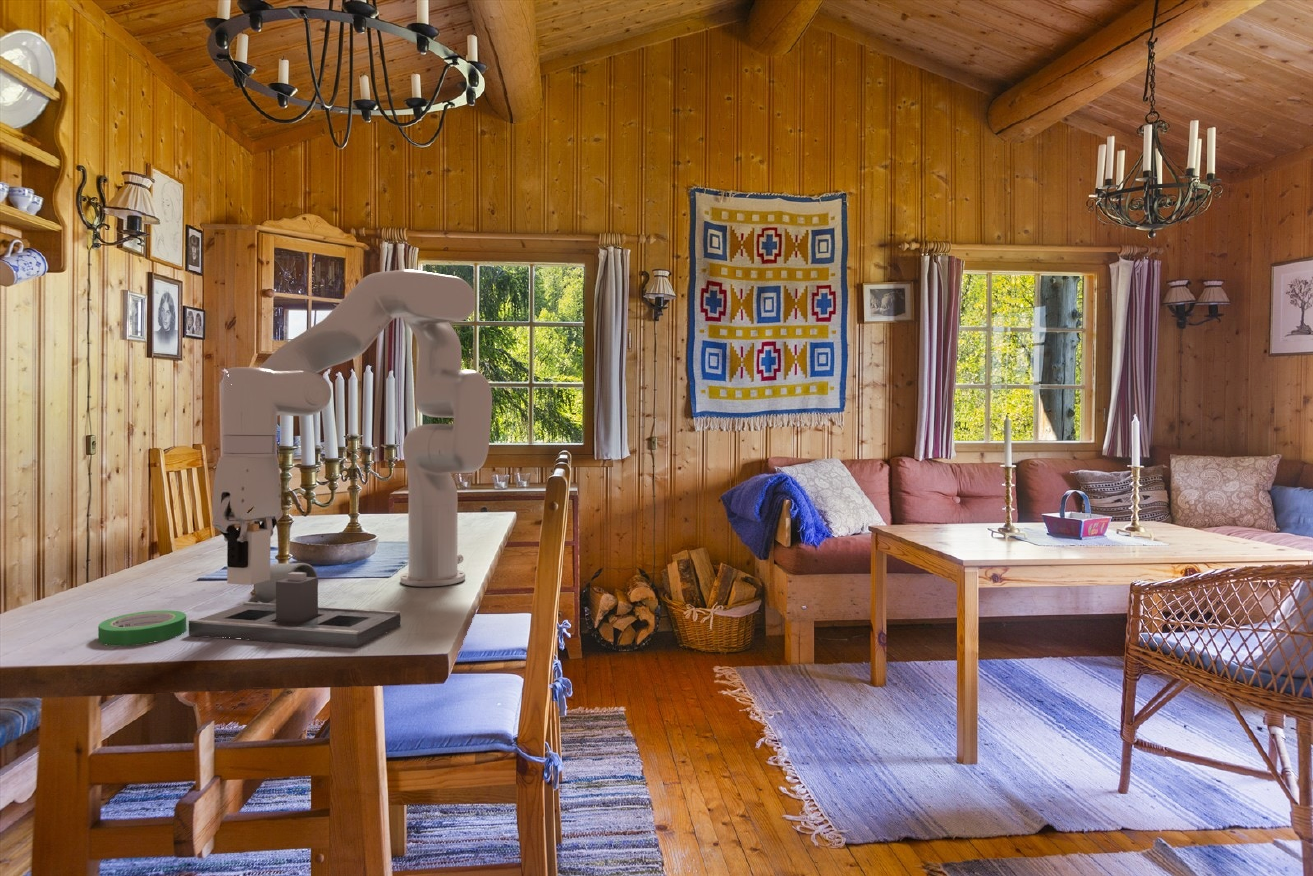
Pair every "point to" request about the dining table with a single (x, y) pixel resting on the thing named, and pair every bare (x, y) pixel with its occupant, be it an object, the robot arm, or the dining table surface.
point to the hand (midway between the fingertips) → (249, 563)
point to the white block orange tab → (253, 558)
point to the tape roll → (142, 627)
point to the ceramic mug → (278, 572)
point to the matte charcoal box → (297, 598)
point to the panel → (298, 625)
